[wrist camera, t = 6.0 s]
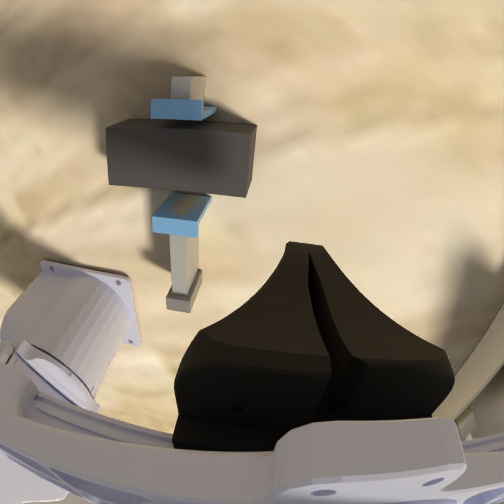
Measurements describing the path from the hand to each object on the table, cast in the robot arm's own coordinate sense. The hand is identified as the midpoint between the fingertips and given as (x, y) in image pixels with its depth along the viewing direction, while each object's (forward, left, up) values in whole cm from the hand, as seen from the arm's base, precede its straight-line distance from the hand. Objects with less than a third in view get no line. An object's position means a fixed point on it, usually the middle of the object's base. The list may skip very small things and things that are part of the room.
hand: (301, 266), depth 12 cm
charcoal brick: (-7, +2, -9) cm, 11 cm away
